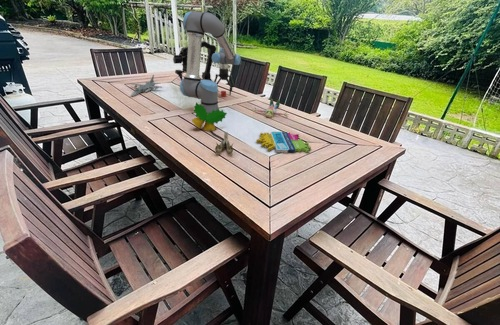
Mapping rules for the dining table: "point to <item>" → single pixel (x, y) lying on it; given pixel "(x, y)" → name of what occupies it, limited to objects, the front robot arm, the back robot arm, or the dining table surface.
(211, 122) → the ornament
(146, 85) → the airplane
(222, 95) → the canister
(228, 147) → the jawbone
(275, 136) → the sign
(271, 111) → the toy
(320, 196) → the dining table surface
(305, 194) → the dining table surface
